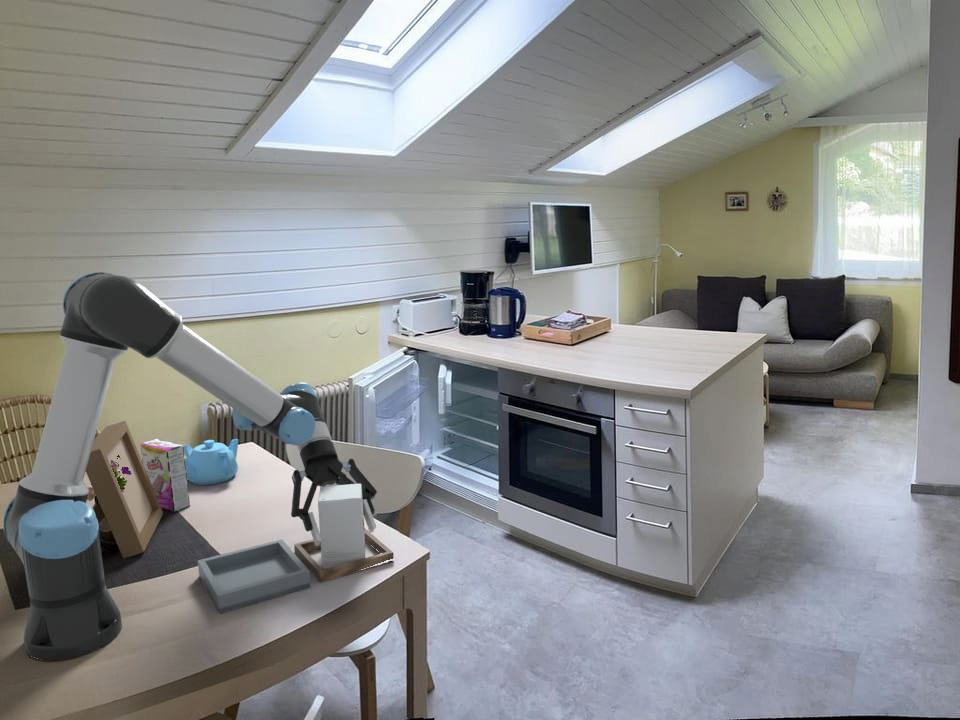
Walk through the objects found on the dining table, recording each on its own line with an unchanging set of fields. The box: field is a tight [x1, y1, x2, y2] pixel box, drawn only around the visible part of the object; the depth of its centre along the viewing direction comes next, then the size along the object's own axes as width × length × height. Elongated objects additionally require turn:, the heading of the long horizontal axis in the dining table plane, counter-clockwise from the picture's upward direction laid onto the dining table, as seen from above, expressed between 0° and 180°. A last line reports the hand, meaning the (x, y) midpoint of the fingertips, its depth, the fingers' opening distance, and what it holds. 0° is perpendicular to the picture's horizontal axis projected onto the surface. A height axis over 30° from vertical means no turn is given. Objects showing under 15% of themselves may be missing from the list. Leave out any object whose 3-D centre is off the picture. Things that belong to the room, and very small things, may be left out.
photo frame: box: [85, 420, 164, 559], centre depth 170 cm, size 15×22×25 cm
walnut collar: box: [293, 527, 395, 583], centre depth 161 cm, size 16×16×2 cm
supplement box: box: [317, 483, 366, 570], centre depth 159 cm, size 9×9×15 cm
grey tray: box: [197, 539, 311, 614], centre depth 151 cm, size 17×17×4 cm
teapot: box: [182, 438, 239, 486], centre depth 210 cm, size 15×15×11 cm
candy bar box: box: [139, 438, 191, 513], centre depth 190 cm, size 11×5×16 cm, turn 58°
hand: (346, 536), depth 157 cm, fingers closed on supplement box, 11 cm apart
